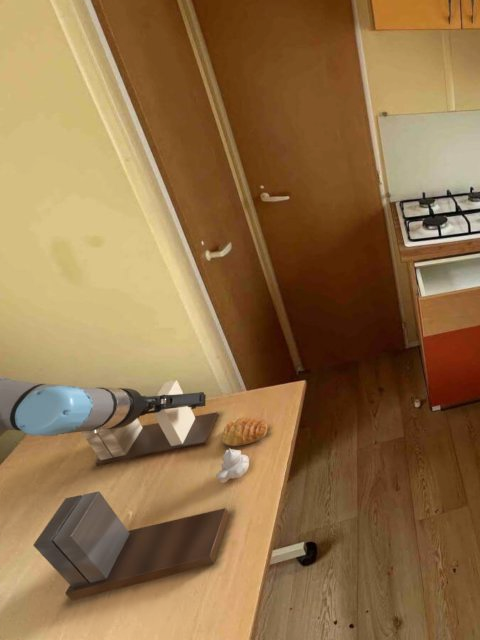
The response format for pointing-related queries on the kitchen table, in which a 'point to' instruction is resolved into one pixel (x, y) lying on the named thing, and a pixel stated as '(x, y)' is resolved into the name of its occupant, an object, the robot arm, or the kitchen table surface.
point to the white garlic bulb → (233, 465)
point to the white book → (174, 416)
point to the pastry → (243, 432)
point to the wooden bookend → (145, 440)
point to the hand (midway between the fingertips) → (171, 406)
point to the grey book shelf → (124, 546)
